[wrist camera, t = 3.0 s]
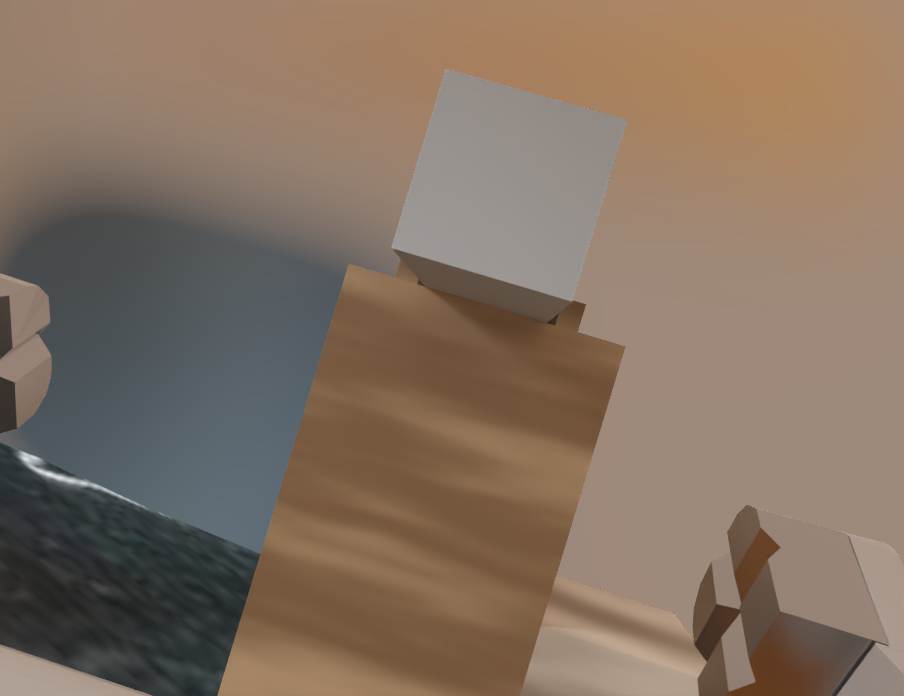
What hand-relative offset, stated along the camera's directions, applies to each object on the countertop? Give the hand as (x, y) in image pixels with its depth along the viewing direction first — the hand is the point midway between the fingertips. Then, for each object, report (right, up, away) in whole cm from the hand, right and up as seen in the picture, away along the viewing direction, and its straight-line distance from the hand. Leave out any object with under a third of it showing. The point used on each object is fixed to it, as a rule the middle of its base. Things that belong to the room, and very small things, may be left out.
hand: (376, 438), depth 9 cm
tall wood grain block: (-2, -23, +24) cm, 34 cm away
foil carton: (+2, +2, +19) cm, 20 cm away
